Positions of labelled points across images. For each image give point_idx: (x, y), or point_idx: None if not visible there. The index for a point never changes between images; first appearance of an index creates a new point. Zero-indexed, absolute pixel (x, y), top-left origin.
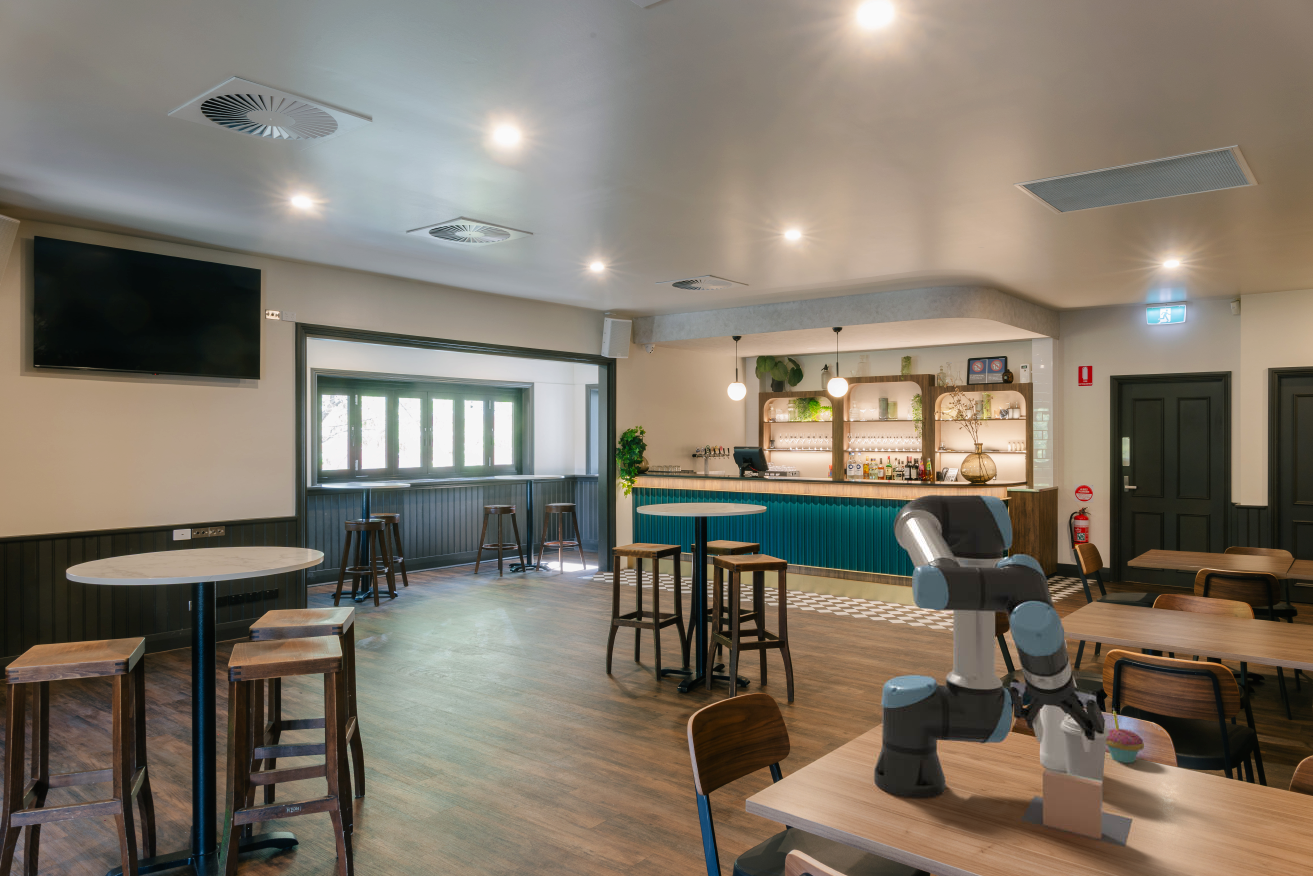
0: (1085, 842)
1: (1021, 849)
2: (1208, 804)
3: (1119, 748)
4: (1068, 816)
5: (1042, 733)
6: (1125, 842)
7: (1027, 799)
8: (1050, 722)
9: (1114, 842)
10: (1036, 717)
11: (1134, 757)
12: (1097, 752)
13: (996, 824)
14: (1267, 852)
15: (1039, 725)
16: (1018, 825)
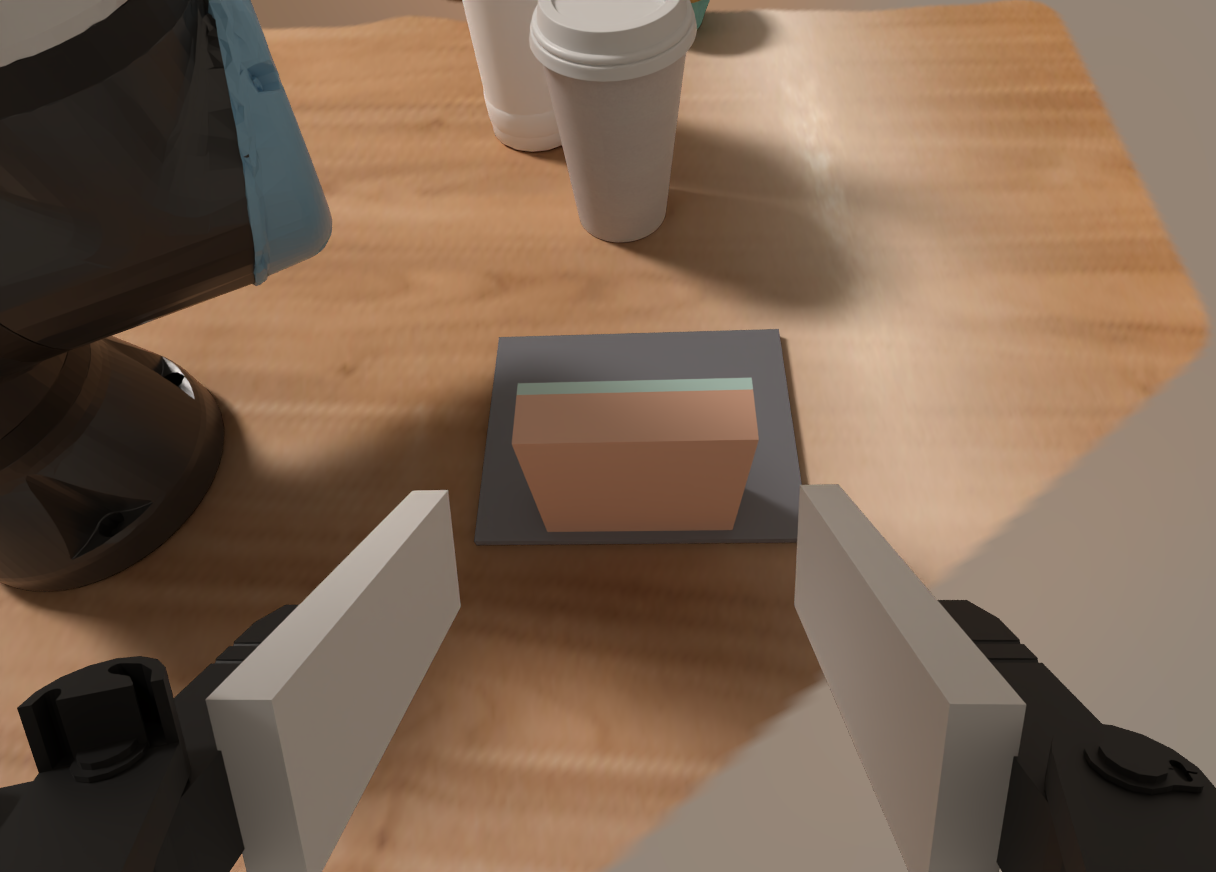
0: (689, 563)
1: (499, 778)
2: (907, 135)
3: None
4: (628, 511)
5: (446, 546)
6: None
7: (481, 360)
8: (493, 6)
9: (775, 527)
10: (272, 788)
11: (704, 11)
12: (663, 115)
13: None
14: (1121, 313)
15: (377, 679)
16: (471, 569)
